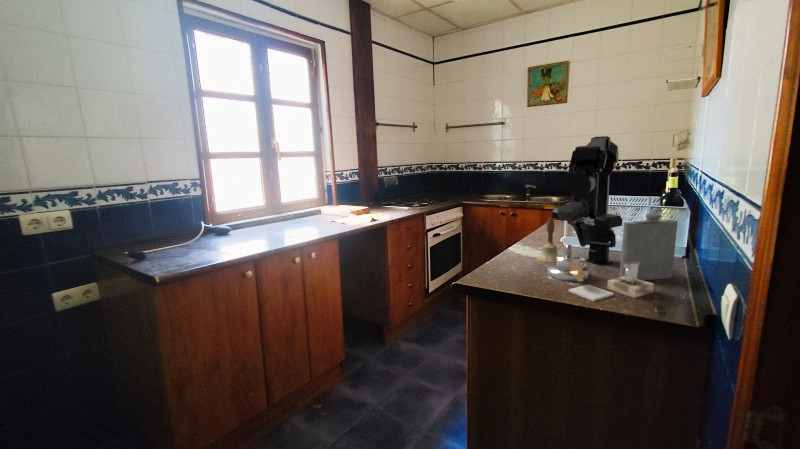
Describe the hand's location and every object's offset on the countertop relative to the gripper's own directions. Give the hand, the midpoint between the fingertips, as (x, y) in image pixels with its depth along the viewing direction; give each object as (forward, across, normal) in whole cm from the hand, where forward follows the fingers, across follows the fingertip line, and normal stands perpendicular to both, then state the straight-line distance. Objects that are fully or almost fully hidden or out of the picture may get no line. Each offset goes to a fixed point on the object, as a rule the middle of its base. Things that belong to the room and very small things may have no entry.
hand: (583, 246), depth 104 cm
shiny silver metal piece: (+13, +8, +10) cm, 18 cm away
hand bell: (+13, -25, +14) cm, 32 cm away
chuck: (+11, -6, +3) cm, 12 cm away
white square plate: (+13, +4, -1) cm, 13 cm away
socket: (+13, +8, +10) cm, 18 cm away
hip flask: (+13, +4, +24) cm, 28 cm away
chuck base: (+13, -10, +6) cm, 18 cm away
